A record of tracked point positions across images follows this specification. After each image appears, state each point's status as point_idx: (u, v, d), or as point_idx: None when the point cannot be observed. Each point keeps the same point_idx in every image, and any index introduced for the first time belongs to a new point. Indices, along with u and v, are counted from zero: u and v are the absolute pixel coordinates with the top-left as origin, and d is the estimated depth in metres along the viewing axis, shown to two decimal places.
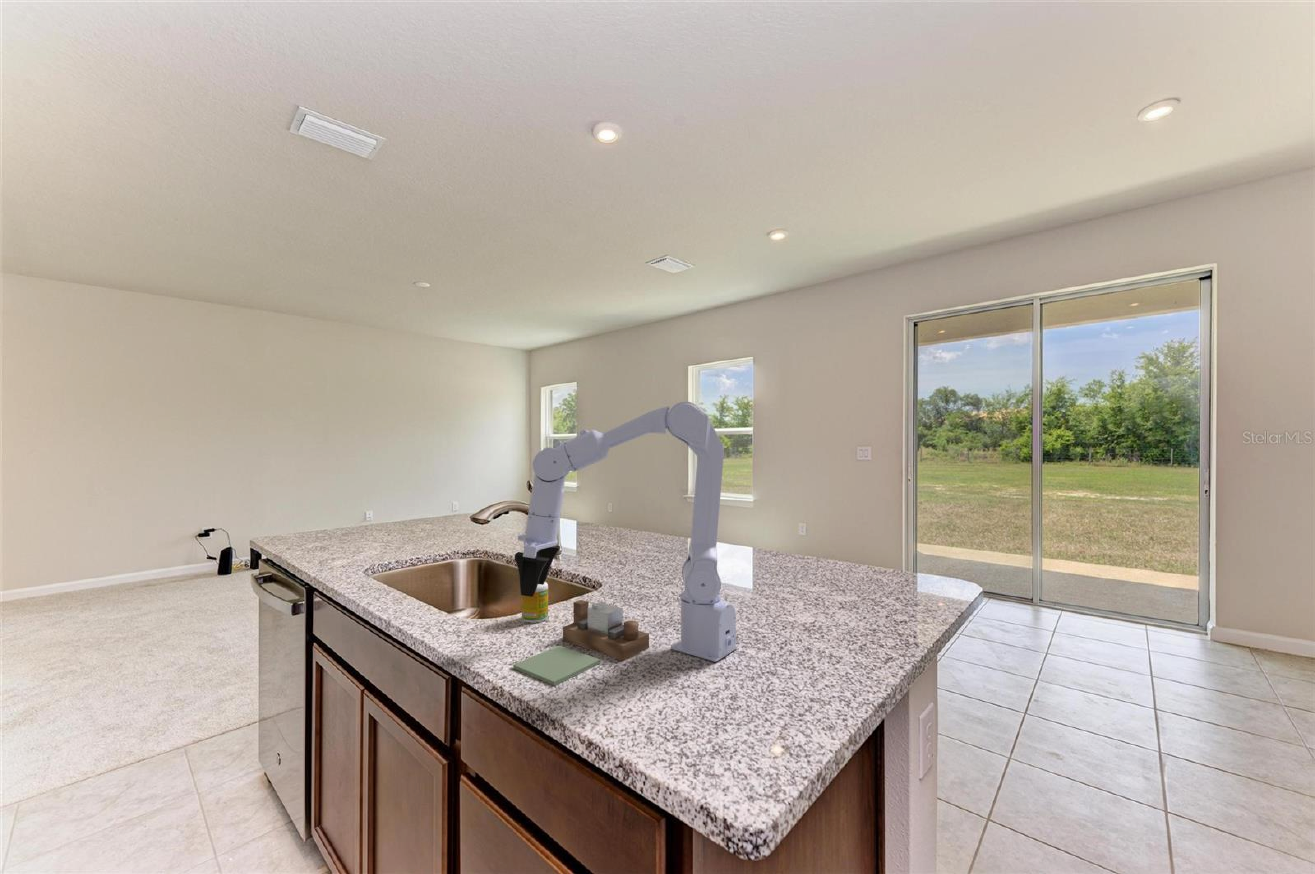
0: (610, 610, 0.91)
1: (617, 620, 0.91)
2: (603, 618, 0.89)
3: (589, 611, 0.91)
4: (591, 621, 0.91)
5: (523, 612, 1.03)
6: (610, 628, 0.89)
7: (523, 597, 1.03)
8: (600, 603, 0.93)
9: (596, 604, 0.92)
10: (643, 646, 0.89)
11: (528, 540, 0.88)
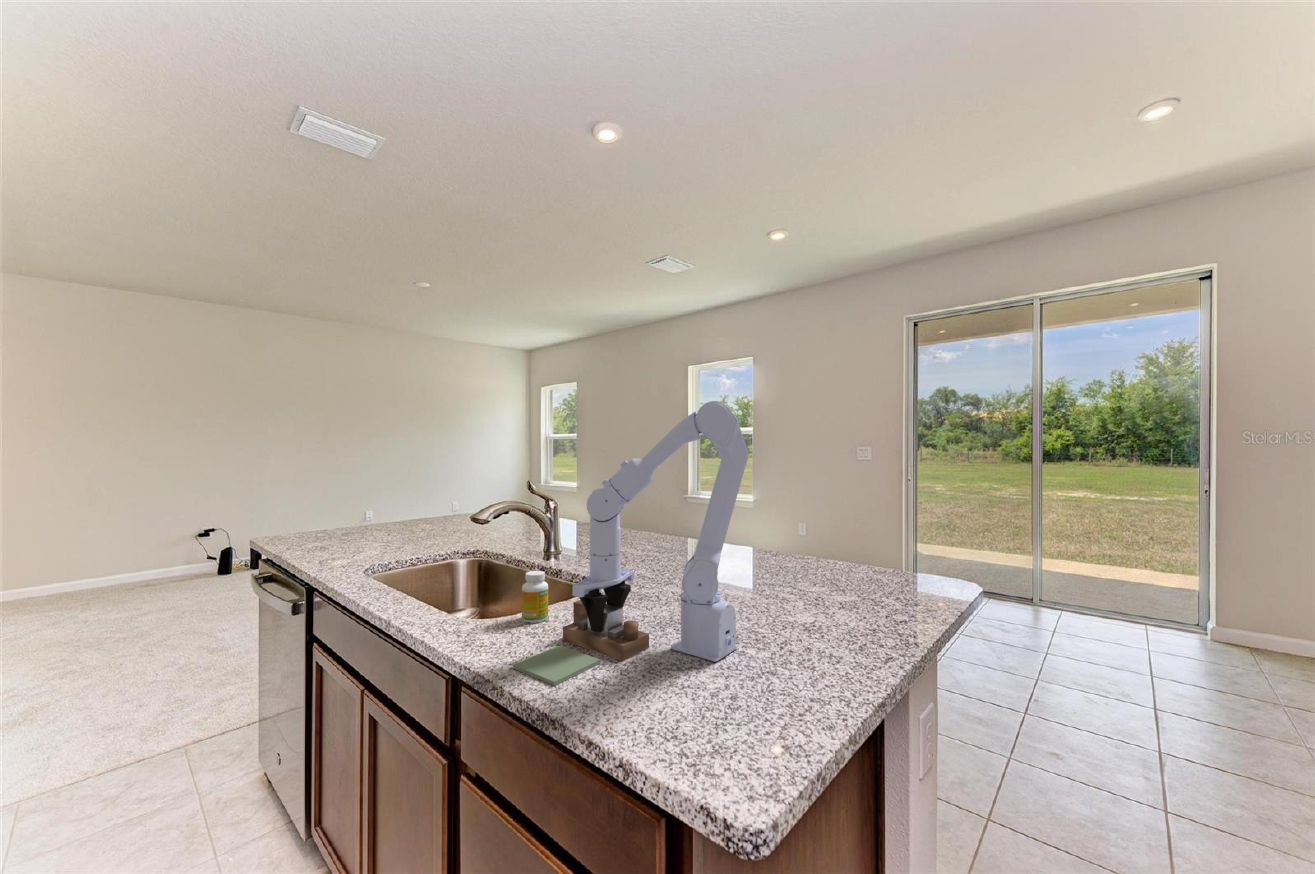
0: (610, 610, 0.91)
1: (617, 620, 0.91)
2: (603, 618, 0.89)
3: None
4: None
5: (523, 612, 1.03)
6: (610, 628, 0.89)
7: (523, 597, 1.03)
8: None
9: None
10: (643, 646, 0.89)
11: (589, 579, 0.91)
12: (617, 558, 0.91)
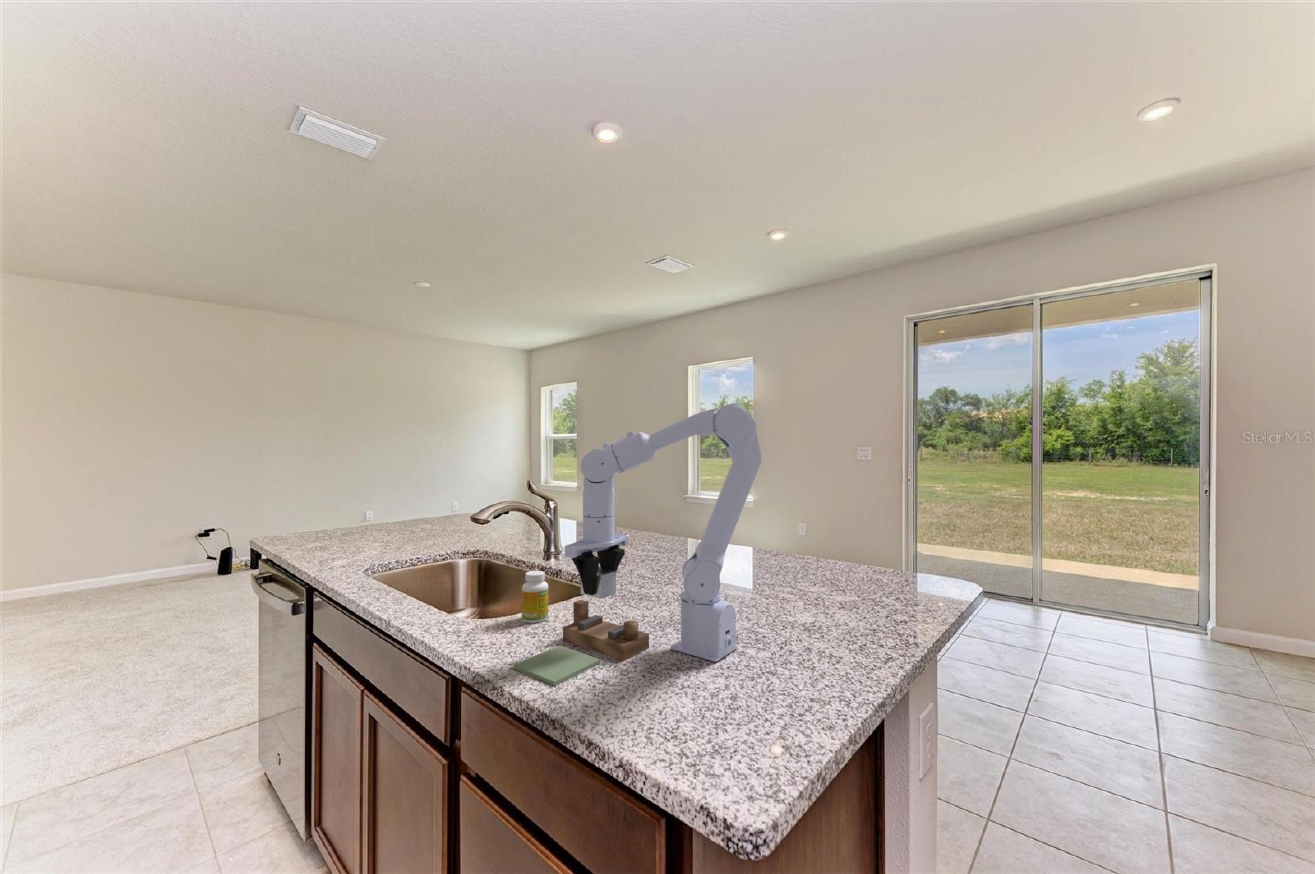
0: (603, 573, 0.90)
1: (610, 583, 0.90)
2: (596, 580, 0.88)
3: None
4: None
5: (523, 612, 1.03)
6: (603, 590, 0.88)
7: (523, 597, 1.03)
8: None
9: None
10: (643, 646, 0.89)
11: (582, 541, 0.90)
12: (610, 520, 0.89)
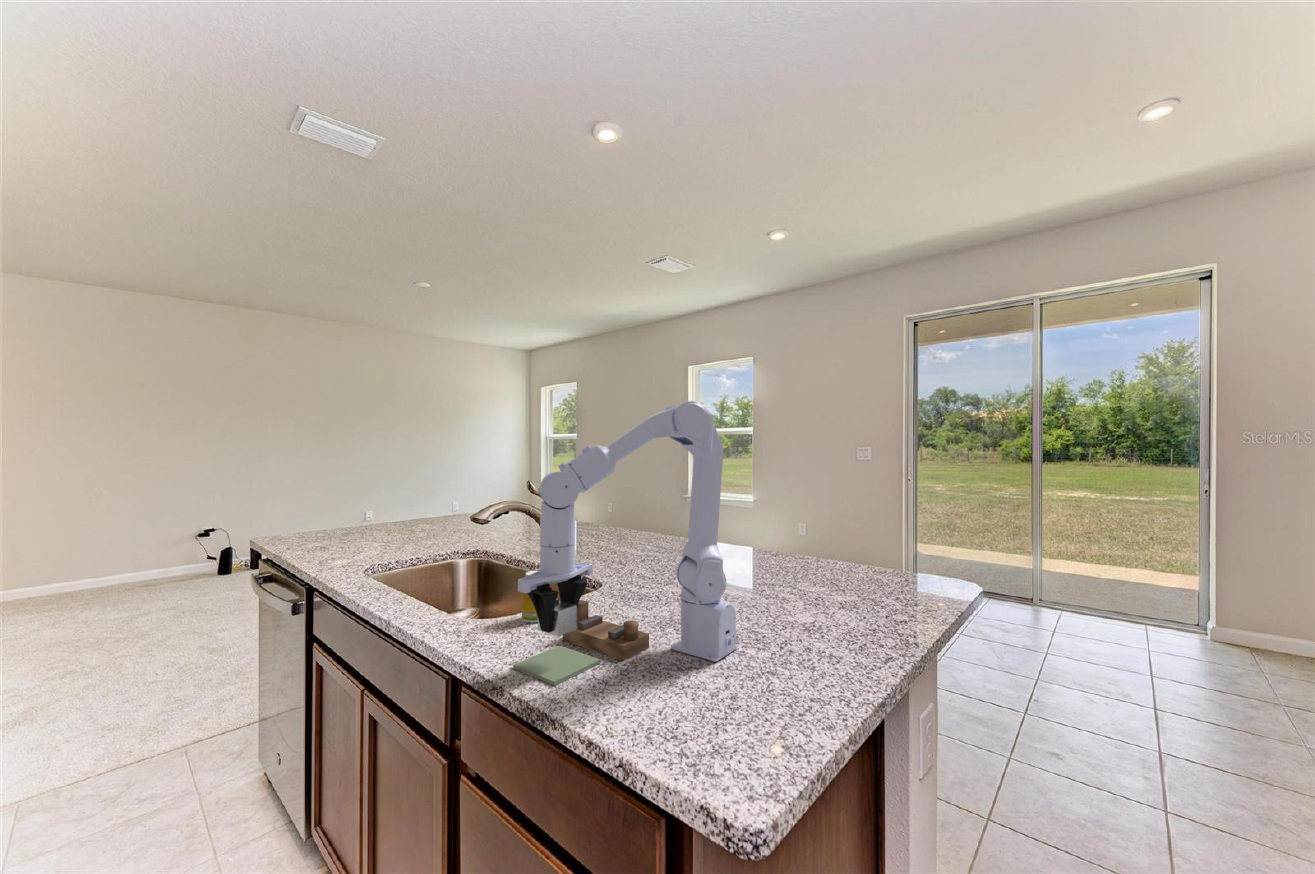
0: (561, 607, 0.82)
1: (570, 618, 0.82)
2: (554, 616, 0.80)
3: None
4: None
5: (523, 612, 1.03)
6: (561, 627, 0.80)
7: (523, 597, 1.03)
8: None
9: None
10: (643, 646, 0.89)
11: (539, 573, 0.82)
12: (570, 550, 0.81)
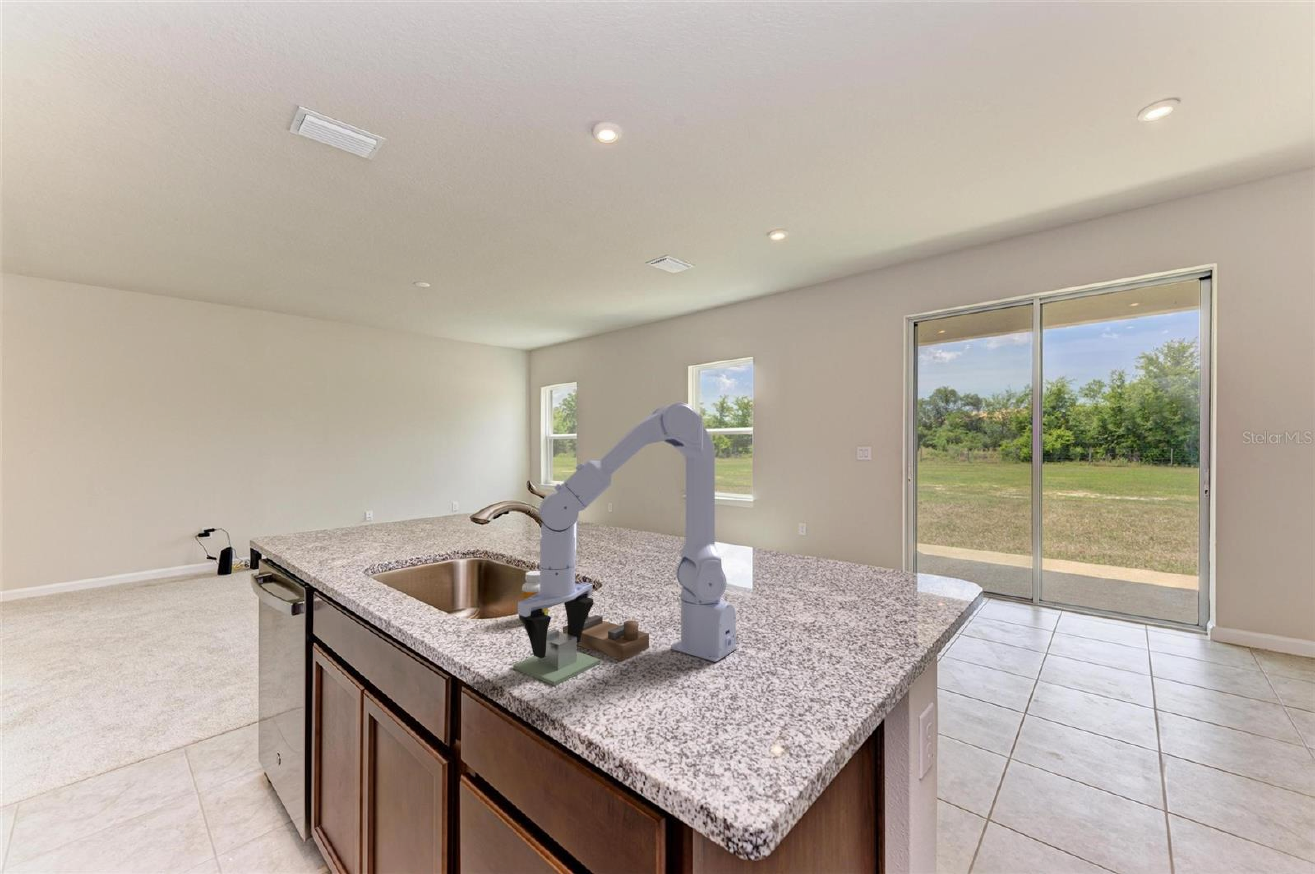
0: (562, 640, 0.82)
1: (570, 651, 0.82)
2: (554, 649, 0.80)
3: None
4: None
5: None
6: (561, 661, 0.80)
7: (523, 597, 1.03)
8: (552, 631, 0.84)
9: (547, 633, 0.83)
10: (643, 646, 0.89)
11: (539, 595, 0.82)
12: (570, 572, 0.81)
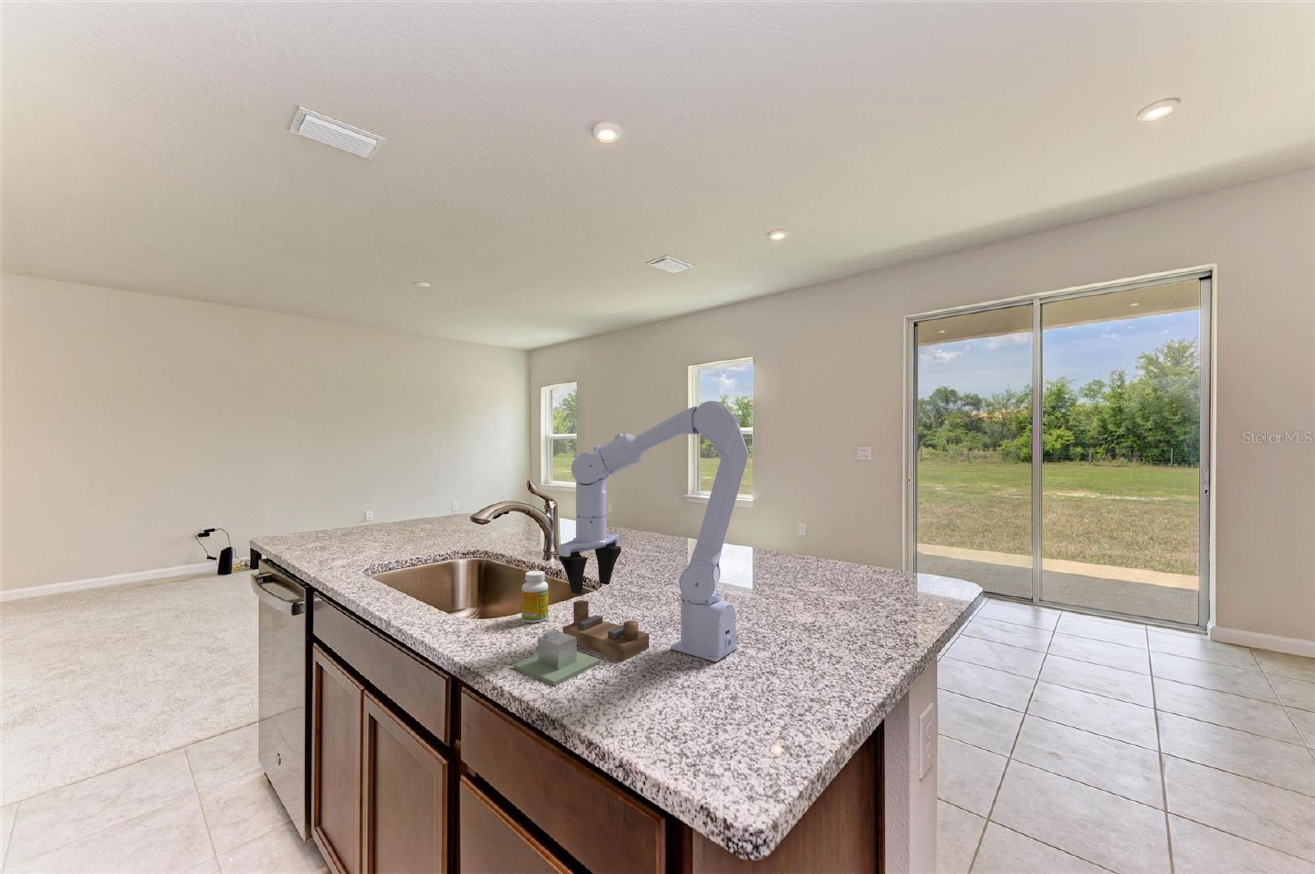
0: (562, 640, 0.82)
1: (570, 651, 0.82)
2: (554, 649, 0.80)
3: (539, 641, 0.82)
4: (541, 652, 0.82)
5: (523, 612, 1.03)
6: (561, 661, 0.80)
7: (523, 597, 1.03)
8: (552, 631, 0.84)
9: (547, 633, 0.83)
10: (643, 646, 0.89)
11: (575, 541, 0.94)
12: (602, 520, 0.94)
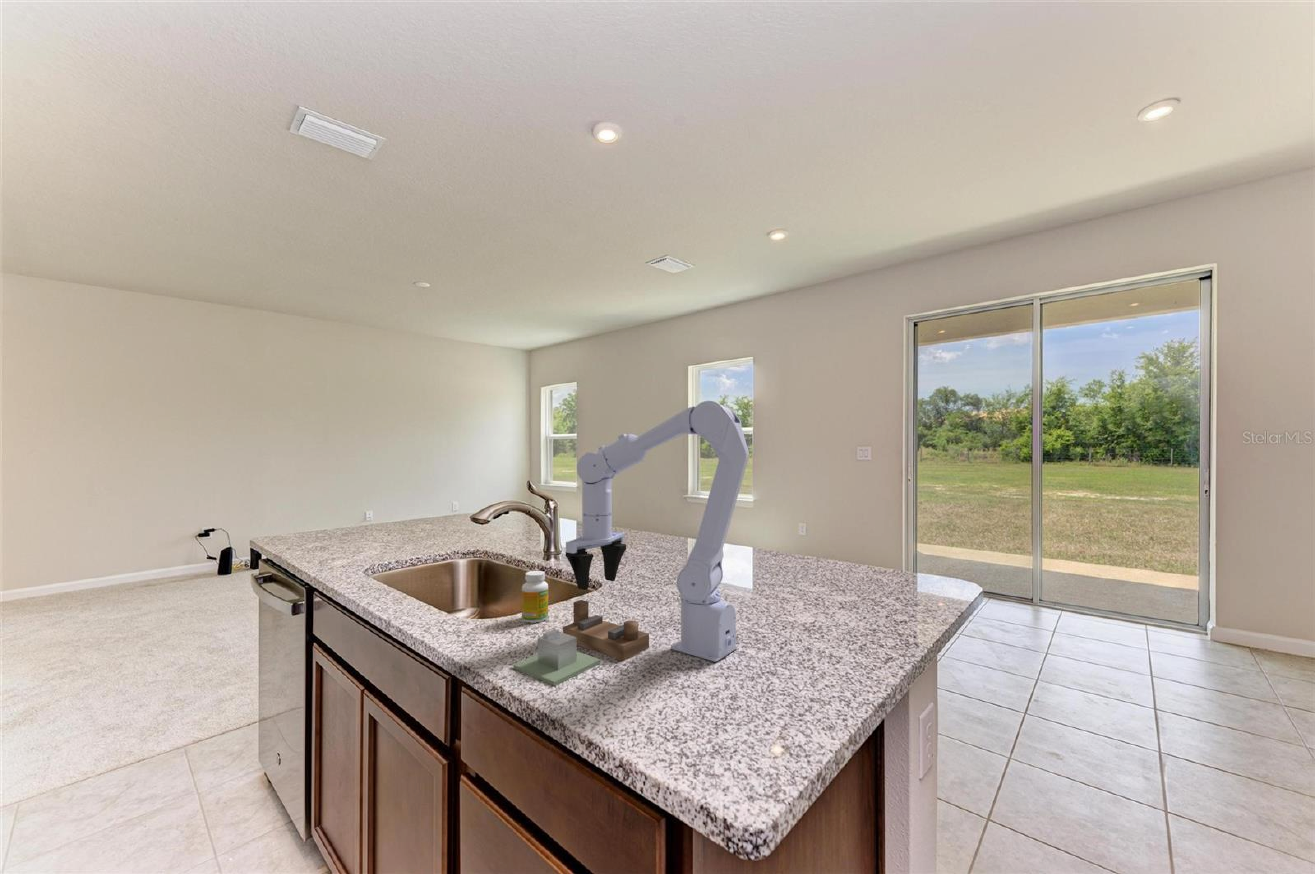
0: (562, 640, 0.82)
1: (570, 651, 0.82)
2: (554, 649, 0.80)
3: (539, 641, 0.82)
4: (541, 652, 0.82)
5: (523, 612, 1.03)
6: (561, 661, 0.80)
7: (523, 597, 1.03)
8: (552, 631, 0.84)
9: (547, 633, 0.83)
10: (643, 646, 0.89)
11: (581, 538, 0.96)
12: (608, 518, 0.96)
